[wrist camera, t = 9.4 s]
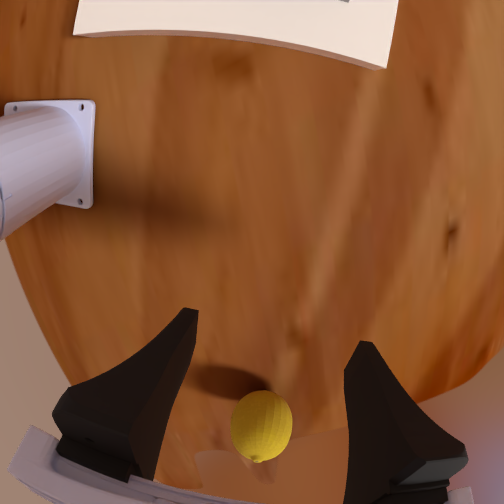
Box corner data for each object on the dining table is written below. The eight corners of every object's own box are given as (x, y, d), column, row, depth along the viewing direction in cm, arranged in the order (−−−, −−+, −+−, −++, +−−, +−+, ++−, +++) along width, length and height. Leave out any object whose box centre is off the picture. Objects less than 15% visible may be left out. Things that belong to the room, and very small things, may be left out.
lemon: (285, 369, 28) (281, 446, 21) (298, 402, 30) (296, 471, 23) (228, 376, 29) (213, 448, 22) (246, 408, 31) (237, 473, 25)
